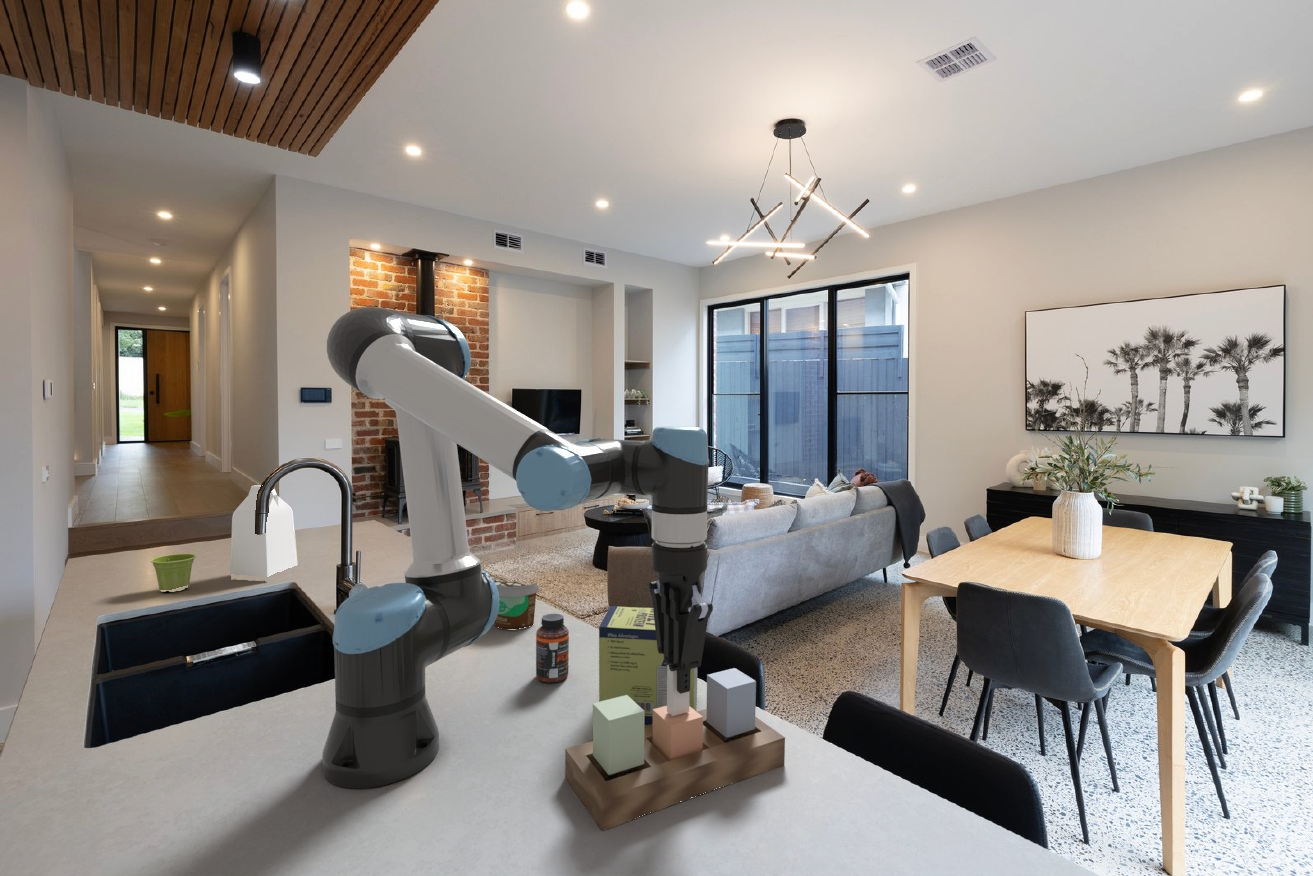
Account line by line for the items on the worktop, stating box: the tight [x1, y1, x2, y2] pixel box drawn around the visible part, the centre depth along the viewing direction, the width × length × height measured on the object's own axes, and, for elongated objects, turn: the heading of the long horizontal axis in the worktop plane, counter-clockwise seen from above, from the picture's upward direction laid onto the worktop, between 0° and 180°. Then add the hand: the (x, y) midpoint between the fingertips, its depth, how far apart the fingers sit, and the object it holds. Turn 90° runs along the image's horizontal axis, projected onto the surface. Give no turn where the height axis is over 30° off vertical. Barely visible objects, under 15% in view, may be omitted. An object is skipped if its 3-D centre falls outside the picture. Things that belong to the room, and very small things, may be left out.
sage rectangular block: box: [592, 695, 645, 775], centre depth 80 cm, size 5×5×7 cm
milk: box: [229, 484, 299, 577], centre depth 178 cm, size 12×12×26 cm
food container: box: [490, 576, 540, 630], centre depth 139 cm, size 12×6×10 cm, turn 68°
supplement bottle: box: [535, 613, 570, 684], centre depth 114 cm, size 6×6×11 cm
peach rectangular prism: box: [652, 706, 703, 761], centre depth 85 cm, size 5×5×7 cm
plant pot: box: [150, 553, 197, 591], centre depth 164 cm, size 9×9×9 cm
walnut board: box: [564, 708, 786, 832], centre depth 85 cm, size 28×12×4 cm, turn 119°
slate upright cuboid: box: [706, 667, 757, 738], centre depth 89 cm, size 5×5×7 cm
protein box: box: [598, 605, 698, 726], centre depth 102 cm, size 10×16×16 cm
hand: (678, 711), depth 85 cm, fingers closed
